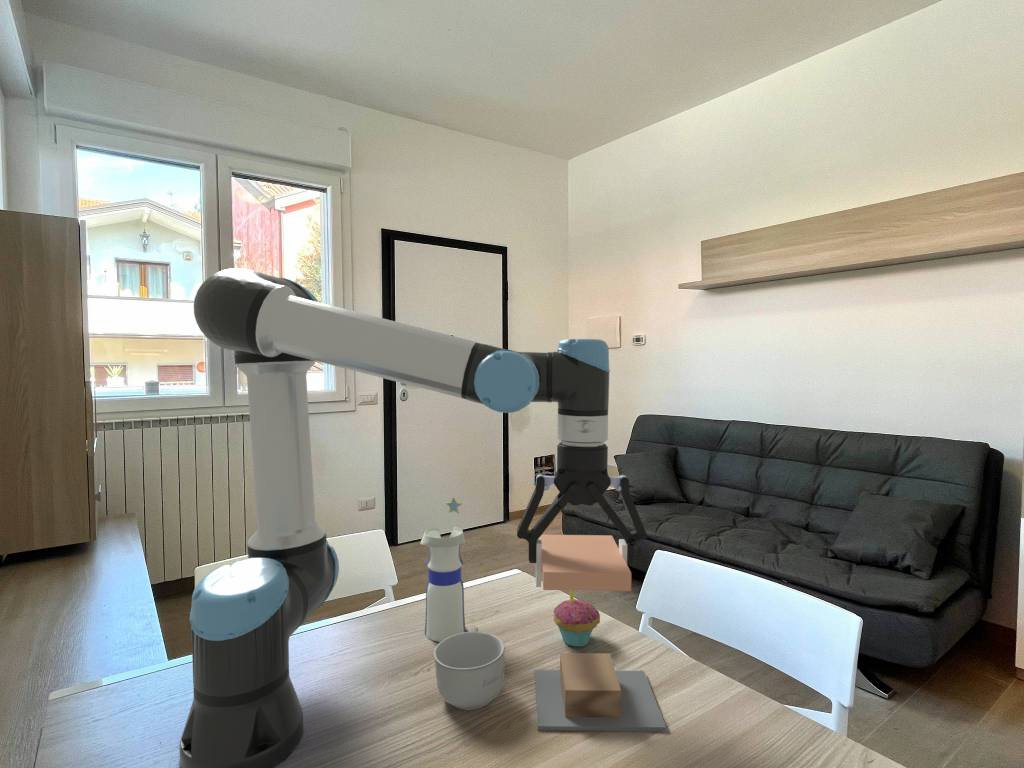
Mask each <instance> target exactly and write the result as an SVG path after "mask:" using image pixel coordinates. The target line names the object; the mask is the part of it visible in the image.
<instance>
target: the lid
mask: <svg viewBox="0 0 1024 768" xmlns="http://www.w3.org/2000/svg"><path fill="white" fill-rule="evenodd" d="M539 538H541V542H542V564H541V583H542V587H543V591H569V590H573V591H586V592H587V591H589V592H590V591H592V592H595V591H596V592H597V591H598V592H632V571H631V569H630V568H629V566H628V564H626V562H625V560H624V558H623V556H622V555H621V553H620V551H619V545H618V544H617V543H616V540H615V539H614V537H613V535H612V534H611V535H610V534H609V535H608V534H607V535H605V534H602V535H601V534H600V535H599V534H597V535H595V534H591V535H590V534H542V535H541V536H540V537H539Z"/></svg>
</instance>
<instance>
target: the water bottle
mask: <svg viewBox="0 0 1024 768" xmlns="http://www.w3.org/2000/svg"><path fill="white" fill-rule="evenodd" d="M445 504H446V505H447V506H448V507H449V509H448V510H449V511H448V513H452V512H455V513H457V514H459V513H460V511H459V507H460V506H461V505H463V503H461V502H457V500H456V498H455V497H452V500H451V501H448V502H445ZM441 536H442V535H441V533H440V531H439V528H437V527H429V528H428V529H425V530H424V532H423V536H422V538H421V540H420V545H422V546H426V547H428V550H429V555H428V556H429V557H428V558H427V561H426V564H425V565H426V567H427V568H428V569H427V571H428V572H427V573H428V574H427V576H428V578H427V579H428V580H427V583H426V588H425V620H424V621H425V623H424V624H425V625H424V635H425V637H426V638H427V639H429V640H430V641H433V642H439V643H440V642H441V641H443V640H444V639H446V638H448V637H450V636H452V635H455V634H459V633H464V632H466V622H465V621H466V620H465V591H464V589H465V588H464V582H463V579H462V566H463V565H464V559H462V557H461V545H462V544H466V543H467V541H466V538H465V534H464V531H463V529H462V528H460V527H458V526H454V527H453V528H452V530H451V533H450V535H449V537H441Z"/></svg>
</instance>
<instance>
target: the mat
mask: <svg viewBox="0 0 1024 768" xmlns="http://www.w3.org/2000/svg"><path fill="white" fill-rule="evenodd" d="M615 672H616V675H617V679H618V682H619V685H620V689H621V718H601V717H565V712H564V704H563V696H562V688H561V681H560V669H556V670H555V669H534V679H535V681H534V682H535V701H536V720H537V723H536V724H537V731H568V732H569V731H572V732H574V731H575V732H577V731H578V732H579V731H580V732H582V731H583V732H584V731H586V732H587V731H588V732H593V731H594V732H611V731H612V732H667V725H666V723H665V720H664V717H663V716H662V713H661V711H660V707H659V705H658V703H657V700H656V698H655V696H654V692H653V690H652V687H651V684H650V682H649V680H648V678H647V675H646V672H645V670H615Z"/></svg>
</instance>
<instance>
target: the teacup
mask: <svg viewBox="0 0 1024 768" xmlns="http://www.w3.org/2000/svg"><path fill="white" fill-rule="evenodd" d="M505 649H506V648H505V644H504V642H503V640H502V639H501V638H500V637H498V636H497V635H495V634H493V633H489V632H483V631H479V628H478V626H469V627H468V631H465V632H464V633H459V634H455V635H452V636H450V637H448V638H446V639H444V640H443V641H441V642H439V643H438V644H437V645H436V646H435V647H434V650H433V658H434V659H433V660H434V664H435V665H434V670H435V677H436V684H437V685H436V686H437V689H438V692H439V694H440V696H441V698H442V699H443V700H444V702H447V703H448V704H450V705H451V706H453V707H456V708H458V709H460V710H465V711H466V710H468V711H469V710H472V711H473V710H477V709H480V708H483V707H486V706H487V705H488V704H490V703H491V702H492V701H493V700H494V699H496V697H498V695H499V694H500V693H501V691H502V689H503V687H504V683H505V673H506V671H505Z"/></svg>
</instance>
